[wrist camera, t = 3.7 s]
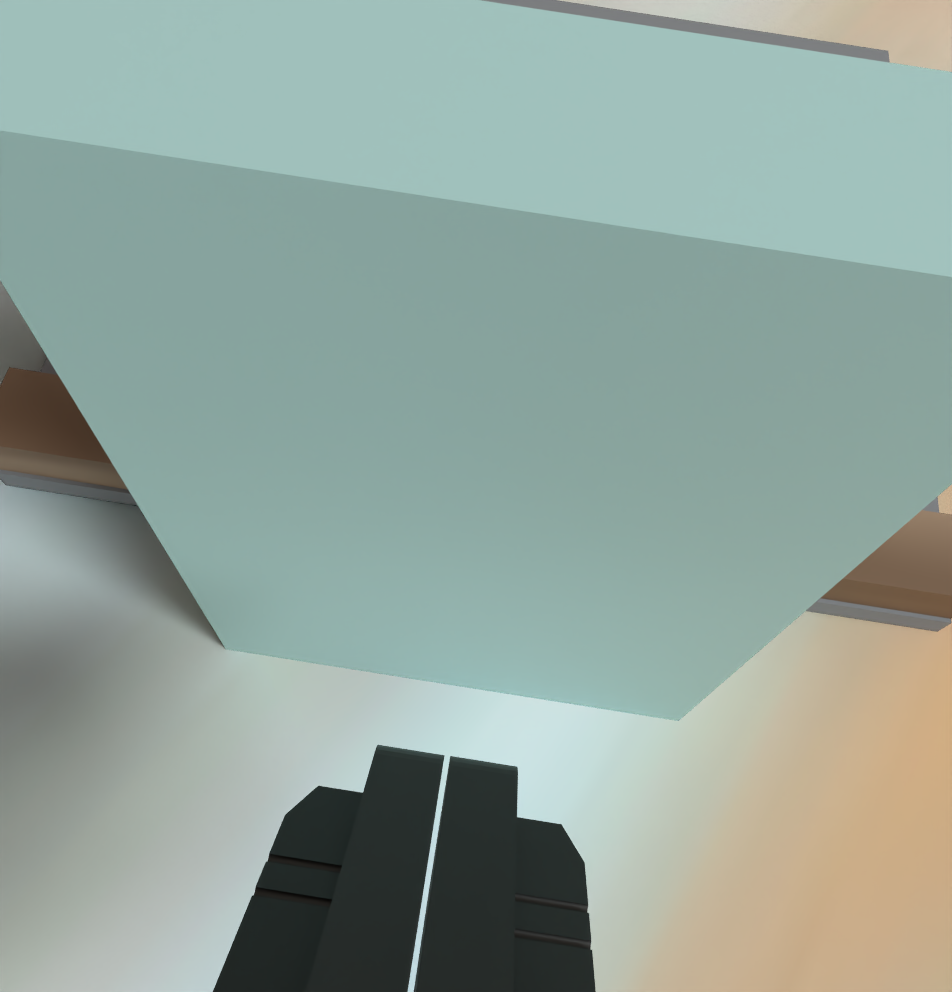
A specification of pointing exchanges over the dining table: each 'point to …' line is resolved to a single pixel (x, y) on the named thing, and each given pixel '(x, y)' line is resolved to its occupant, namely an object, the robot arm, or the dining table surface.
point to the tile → (487, 323)
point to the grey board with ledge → (860, 594)
